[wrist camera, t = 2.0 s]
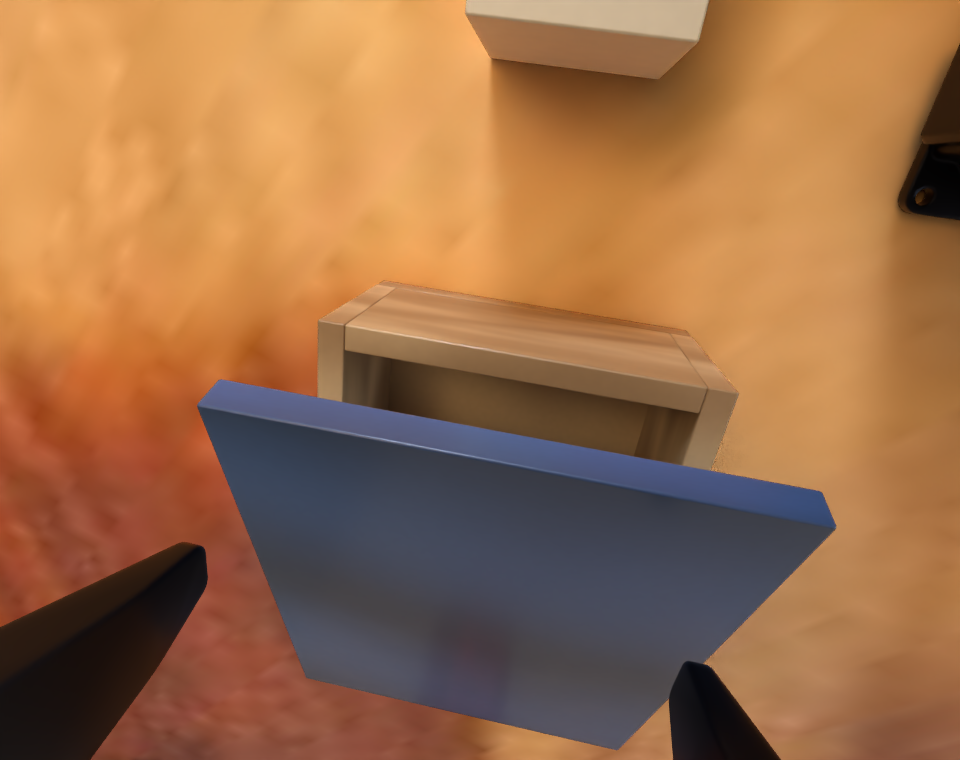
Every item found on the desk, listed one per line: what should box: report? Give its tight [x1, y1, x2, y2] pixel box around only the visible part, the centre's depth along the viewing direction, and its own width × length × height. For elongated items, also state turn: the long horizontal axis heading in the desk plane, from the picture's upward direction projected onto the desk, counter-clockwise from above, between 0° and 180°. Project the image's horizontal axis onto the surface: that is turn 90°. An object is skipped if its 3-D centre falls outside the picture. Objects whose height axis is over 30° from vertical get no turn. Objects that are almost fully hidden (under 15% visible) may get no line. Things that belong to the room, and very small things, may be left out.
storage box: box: [318, 281, 739, 471], centre depth 19 cm, size 14×12×6 cm
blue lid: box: [197, 379, 836, 750], centre depth 14 cm, size 14×12×1 cm
